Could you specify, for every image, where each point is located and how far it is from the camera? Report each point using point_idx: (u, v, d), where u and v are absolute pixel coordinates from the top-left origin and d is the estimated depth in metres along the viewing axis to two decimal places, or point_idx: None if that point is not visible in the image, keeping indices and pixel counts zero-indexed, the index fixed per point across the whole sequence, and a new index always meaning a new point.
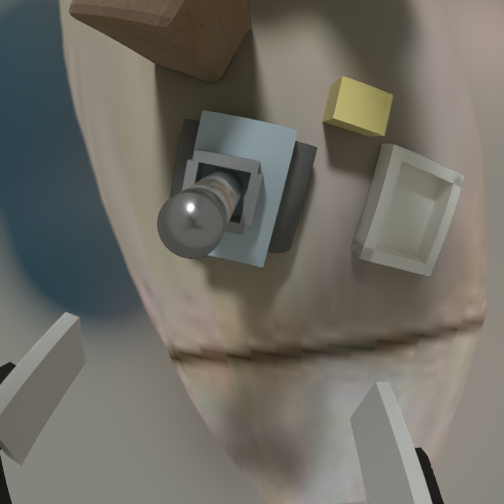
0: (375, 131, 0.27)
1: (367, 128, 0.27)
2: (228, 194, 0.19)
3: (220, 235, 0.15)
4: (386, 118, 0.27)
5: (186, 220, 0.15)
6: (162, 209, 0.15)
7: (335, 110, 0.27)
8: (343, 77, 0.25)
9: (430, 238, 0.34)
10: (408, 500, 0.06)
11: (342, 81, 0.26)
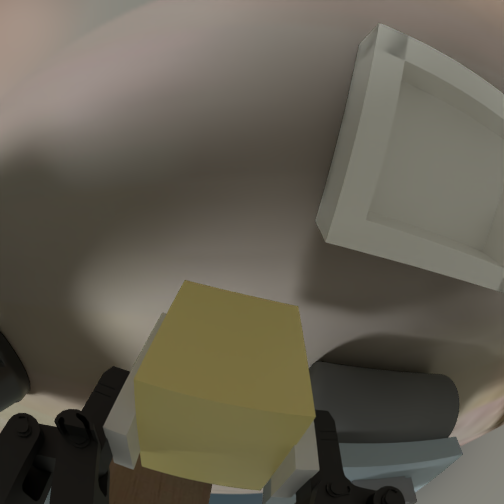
0: (297, 436, 0.07)
1: (287, 451, 0.08)
2: None
3: None
4: (242, 412, 0.07)
5: None
6: None
7: (239, 486, 0.09)
8: (145, 466, 0.09)
9: (501, 126, 0.12)
10: (292, 457, 0.07)
11: (156, 469, 0.09)
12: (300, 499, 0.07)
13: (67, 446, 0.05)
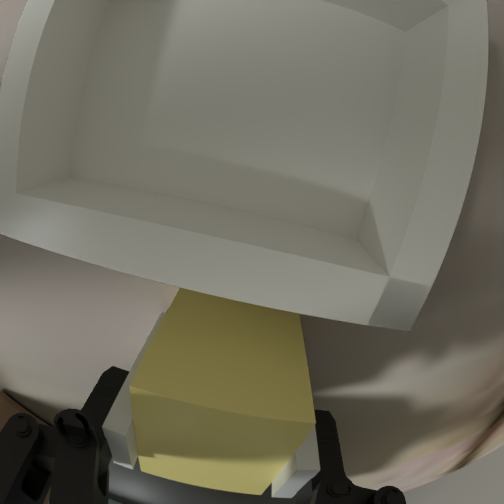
0: (297, 442, 0.07)
1: (287, 457, 0.07)
2: None
3: None
4: (240, 419, 0.07)
5: None
6: None
7: (239, 491, 0.09)
8: (144, 471, 0.09)
9: None
10: (292, 457, 0.07)
11: (156, 474, 0.09)
12: (300, 499, 0.07)
13: (66, 446, 0.05)
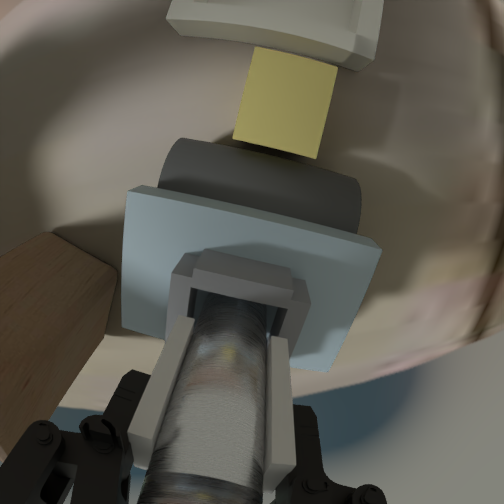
0: (332, 82, 0.15)
1: (329, 97, 0.15)
2: (180, 406, 0.08)
3: None
4: (304, 60, 0.14)
5: None
6: None
7: (301, 153, 0.16)
8: (235, 137, 0.16)
9: None
10: (269, 451, 0.07)
11: (243, 139, 0.16)
12: (278, 496, 0.07)
13: (90, 451, 0.06)
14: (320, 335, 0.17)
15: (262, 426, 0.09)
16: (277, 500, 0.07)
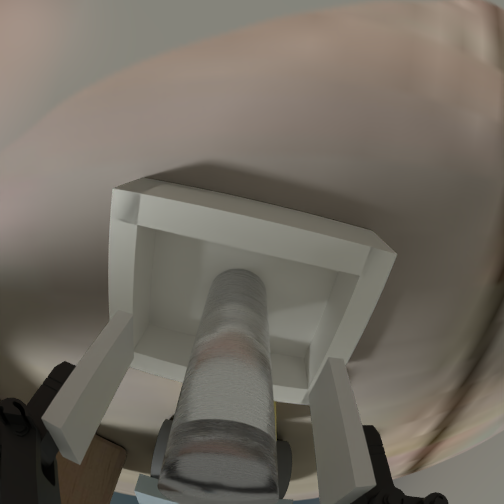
0: None
1: None
2: (200, 367, 0.10)
3: (230, 479, 0.06)
4: None
5: (206, 498, 0.06)
6: None
7: None
8: None
9: None
10: (349, 475, 0.07)
11: None
12: None
13: (10, 435, 0.05)
14: None
15: (271, 384, 0.10)
16: None
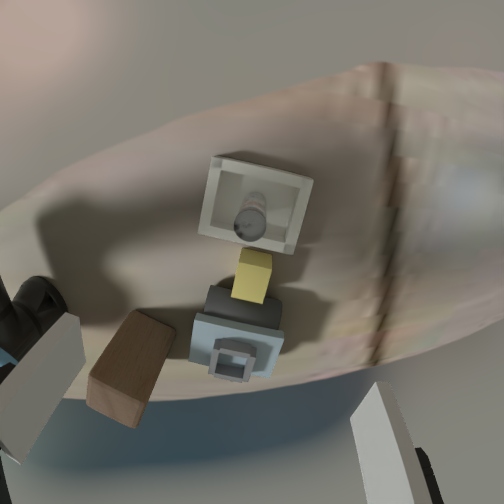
0: (269, 276, 0.43)
1: (267, 281, 0.44)
2: (244, 204, 0.36)
3: (254, 211, 0.32)
4: (258, 268, 0.43)
5: (246, 227, 0.33)
6: (241, 238, 0.33)
7: (256, 302, 0.45)
8: (231, 296, 0.45)
9: None
10: (408, 500, 0.06)
11: (235, 297, 0.45)
12: None
13: None
14: (264, 364, 0.46)
15: (265, 212, 0.37)
16: None
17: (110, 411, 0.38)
